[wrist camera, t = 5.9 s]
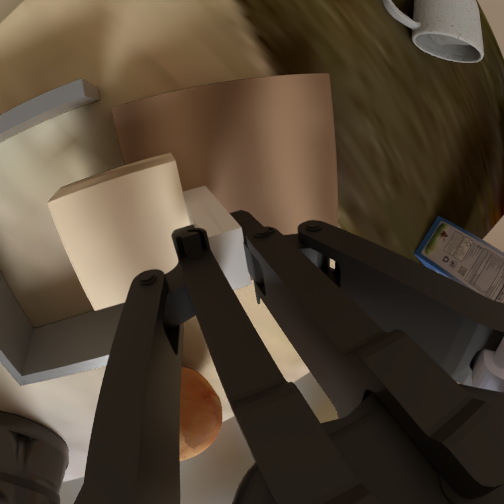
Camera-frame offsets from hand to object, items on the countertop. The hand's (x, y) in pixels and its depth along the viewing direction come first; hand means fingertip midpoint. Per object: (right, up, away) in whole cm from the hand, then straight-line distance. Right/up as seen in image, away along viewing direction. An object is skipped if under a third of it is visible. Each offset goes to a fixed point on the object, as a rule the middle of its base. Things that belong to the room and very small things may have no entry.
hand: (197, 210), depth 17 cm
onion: (-6, -16, +12) cm, 21 cm away
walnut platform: (+1, +3, +5) cm, 6 cm away
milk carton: (+30, -2, +20) cm, 36 cm away
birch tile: (-4, -1, 0) cm, 4 cm away
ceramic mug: (+20, +22, +3) cm, 30 cm away
